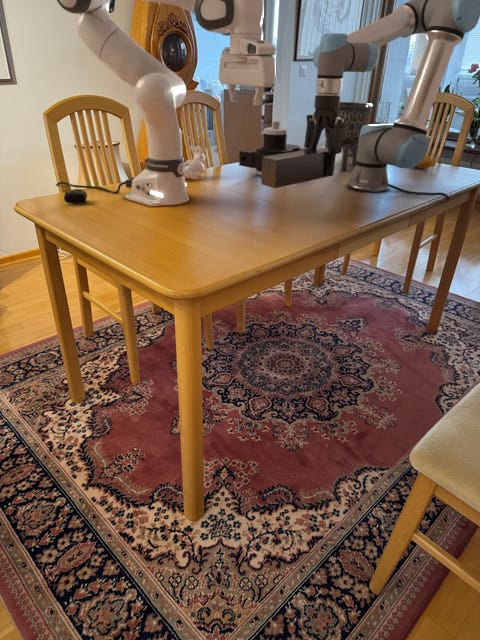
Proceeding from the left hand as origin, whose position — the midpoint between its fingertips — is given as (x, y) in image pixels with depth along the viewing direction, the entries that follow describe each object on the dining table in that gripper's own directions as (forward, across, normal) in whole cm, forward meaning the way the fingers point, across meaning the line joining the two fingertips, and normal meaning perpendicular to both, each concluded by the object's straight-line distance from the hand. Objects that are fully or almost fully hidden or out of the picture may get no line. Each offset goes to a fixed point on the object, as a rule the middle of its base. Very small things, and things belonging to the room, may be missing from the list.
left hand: (244, 103), depth 130 cm
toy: (+32, -4, +115) cm, 119 cm away
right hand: (+21, +10, +24) cm, 33 cm away
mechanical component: (+32, -34, +51) cm, 69 cm away
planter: (+32, -26, +84) cm, 94 cm away
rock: (+32, -40, +116) cm, 127 cm away
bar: (+21, +10, +14) cm, 28 cm away
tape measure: (+32, -41, -37) cm, 64 cm away
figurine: (+32, -48, +15) cm, 59 cm away
